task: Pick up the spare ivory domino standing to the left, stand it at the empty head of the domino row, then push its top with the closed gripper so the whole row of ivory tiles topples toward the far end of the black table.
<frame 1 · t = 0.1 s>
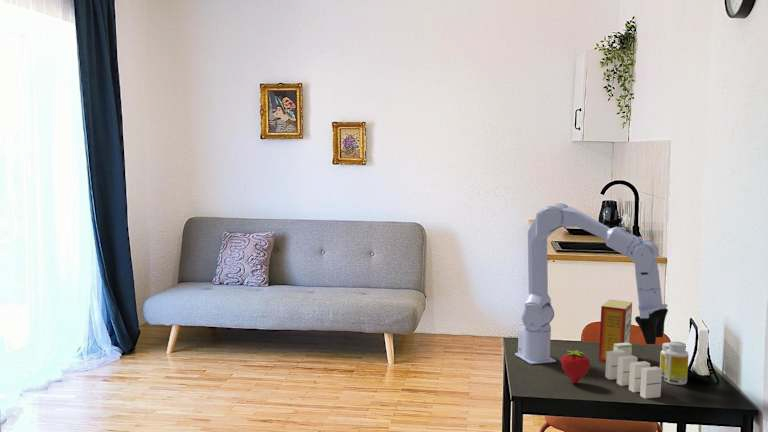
hand: (654, 340, 199), 10 cm above the table, tool pointing down, fingers open, 7 cm apart
domino 4: (638, 390, 192), on the table
domino 3: (626, 383, 197), on the table
domino 2: (614, 377, 202), on the table
domino 5: (650, 396, 188), on the table
strawberry: (574, 384, 197), on the table
domino head: (621, 369, 209), on the table
supplement bottle: (668, 376, 204), on the table
supplement bottle 2: (675, 382, 199), on the table
baking soda box: (614, 359, 219), on the table
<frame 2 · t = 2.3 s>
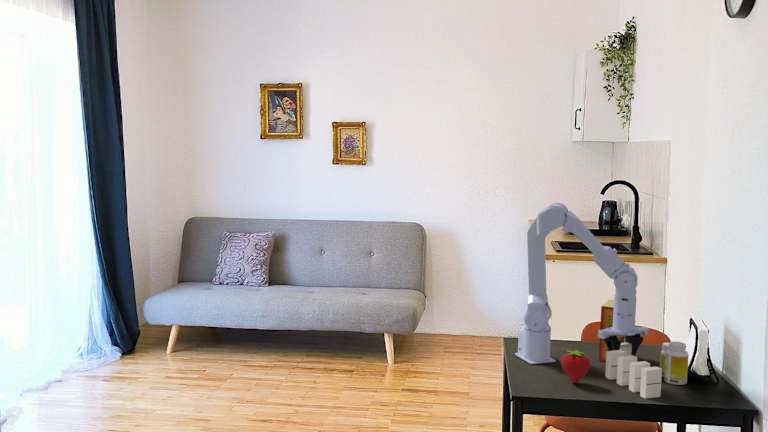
hand: (621, 362, 209), 2 cm above the table, tool pointing down, fingers closed on domino head, 4 cm apart
domino head: (621, 369, 209), on the table, touching gripper
everything else where it was.
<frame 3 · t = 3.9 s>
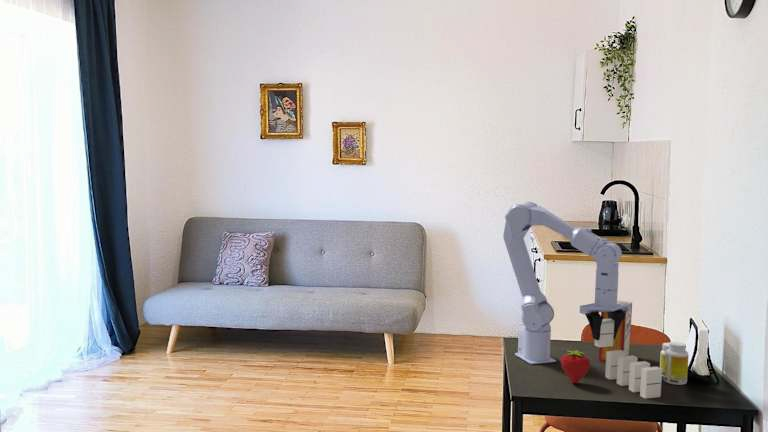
hand: (604, 338, 206), 9 cm above the table, tool pointing down, fingers closed on domino head, 4 cm apart
domino head: (603, 345, 206), point 7 cm above the table, touching gripper
everything else where it was.
when the fingers open (3 cm above the table, at t = 5.4 s): domino head stays where it is, on the table.
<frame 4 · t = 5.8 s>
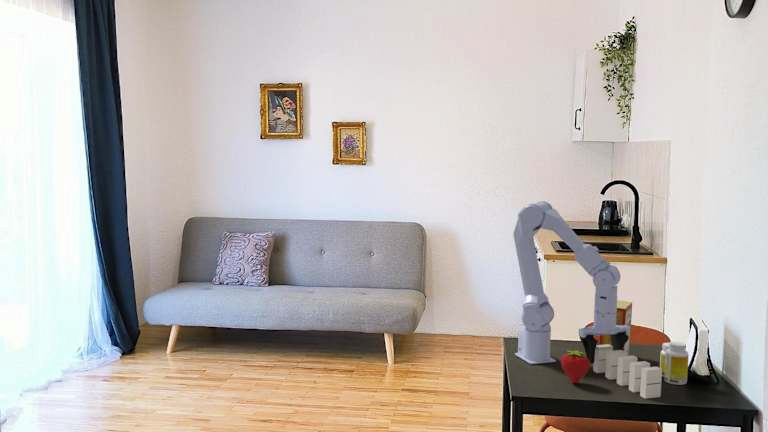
hand: (602, 361, 207), 3 cm above the table, tool pointing down, fingers open, 7 cm apart
domino head: (602, 371, 207), on the table
everything else where it was.
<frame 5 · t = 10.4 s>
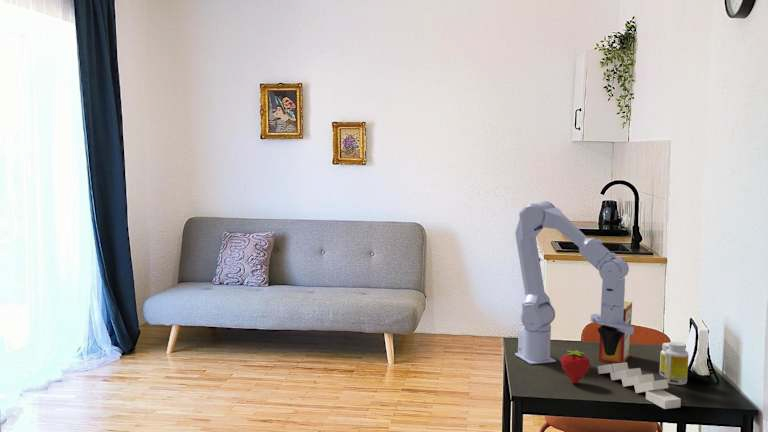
hand: (610, 354, 204), 5 cm above the table, tool pointing down, fingers closed
domino 4: (642, 388, 191), point 1 cm above the table, tilted 64°, touching domino 3, domino 5
domino 3: (629, 381, 196), point 1 cm above the table, tilted 65°, touching domino 2, domino 4
domino 2: (617, 375, 201), point 1 cm above the table, tilted 66°, touching domino 3, domino head
domino 5: (653, 394, 187), point 1 cm above the table, tilted 90°, touching domino 4
domino head: (605, 369, 206), point 1 cm above the table, tilted 68°, touching domino 2
everything else where it was.
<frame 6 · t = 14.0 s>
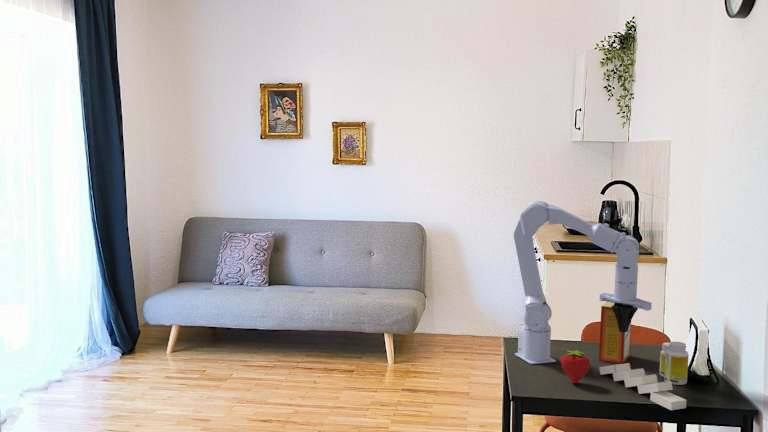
hand: (623, 331, 208), 10 cm above the table, tool pointing down, fingers closed
domino 5: (657, 395, 186), point 1 cm above the table, tilted 90°, touching domino 4
at the end: domino 5 tilted 90°; domino head tilted 68°; domino head inside the target area (0.6 cm from its centre), point 0.9 cm above the table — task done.
